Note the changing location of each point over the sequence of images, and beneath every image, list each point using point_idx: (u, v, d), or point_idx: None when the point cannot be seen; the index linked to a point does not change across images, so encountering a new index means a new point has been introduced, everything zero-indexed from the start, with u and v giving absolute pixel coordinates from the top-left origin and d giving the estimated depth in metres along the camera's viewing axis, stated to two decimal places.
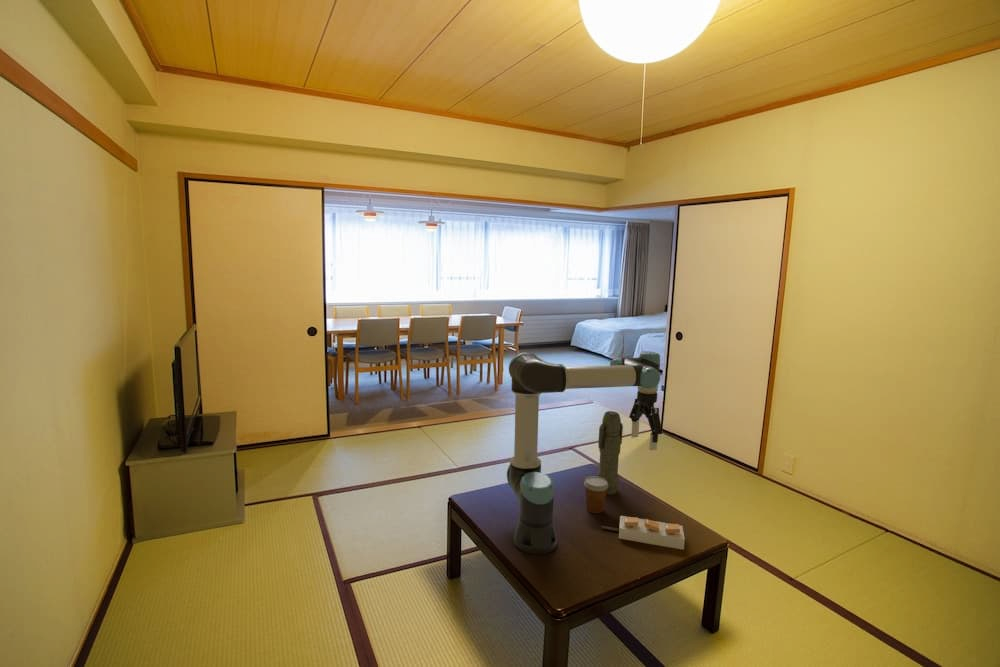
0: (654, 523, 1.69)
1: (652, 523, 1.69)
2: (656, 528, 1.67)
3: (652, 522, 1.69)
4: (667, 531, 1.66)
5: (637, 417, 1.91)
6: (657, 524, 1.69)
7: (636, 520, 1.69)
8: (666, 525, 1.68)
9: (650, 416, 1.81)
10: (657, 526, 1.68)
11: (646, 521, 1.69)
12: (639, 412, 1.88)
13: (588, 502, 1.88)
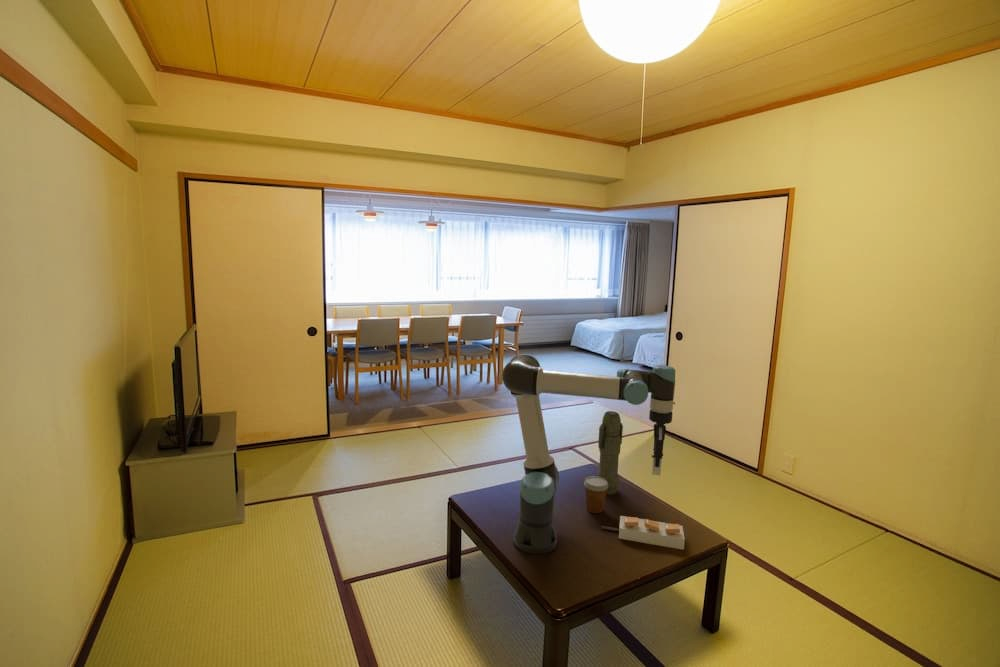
0: (654, 523, 1.69)
1: (652, 523, 1.69)
2: (656, 528, 1.67)
3: (652, 522, 1.69)
4: (667, 531, 1.66)
5: None
6: (657, 524, 1.69)
7: (636, 520, 1.69)
8: (666, 525, 1.68)
9: None
10: (657, 526, 1.68)
11: (646, 521, 1.69)
12: None
13: (588, 502, 1.88)
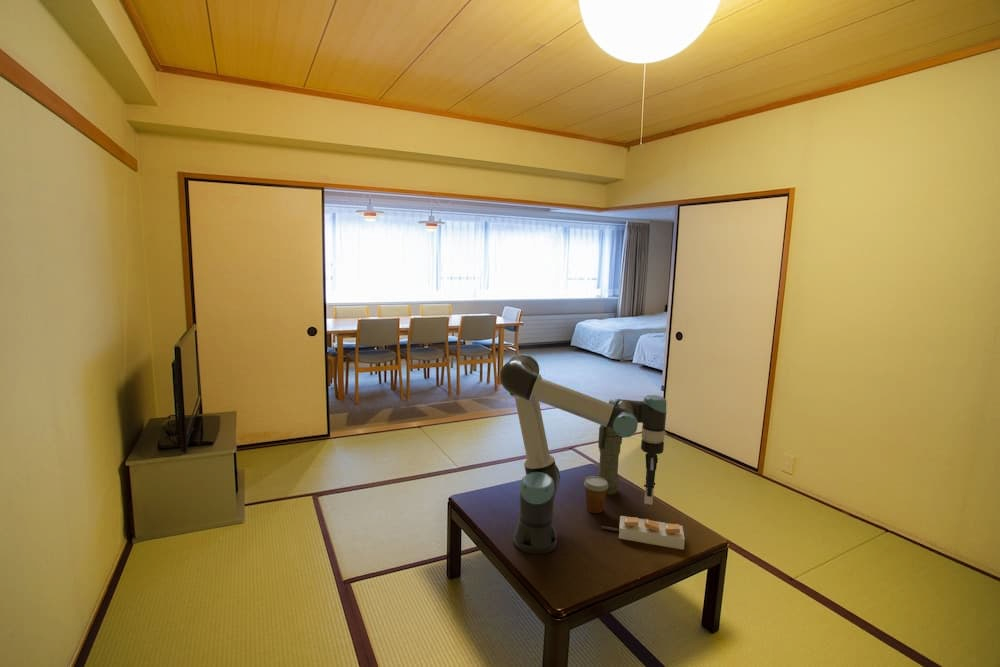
0: (654, 523, 1.69)
1: (652, 523, 1.69)
2: (656, 528, 1.67)
3: (652, 522, 1.69)
4: (667, 531, 1.66)
5: None
6: (657, 524, 1.69)
7: (636, 520, 1.69)
8: (666, 525, 1.68)
9: None
10: (657, 526, 1.68)
11: (646, 521, 1.69)
12: None
13: (588, 502, 1.88)
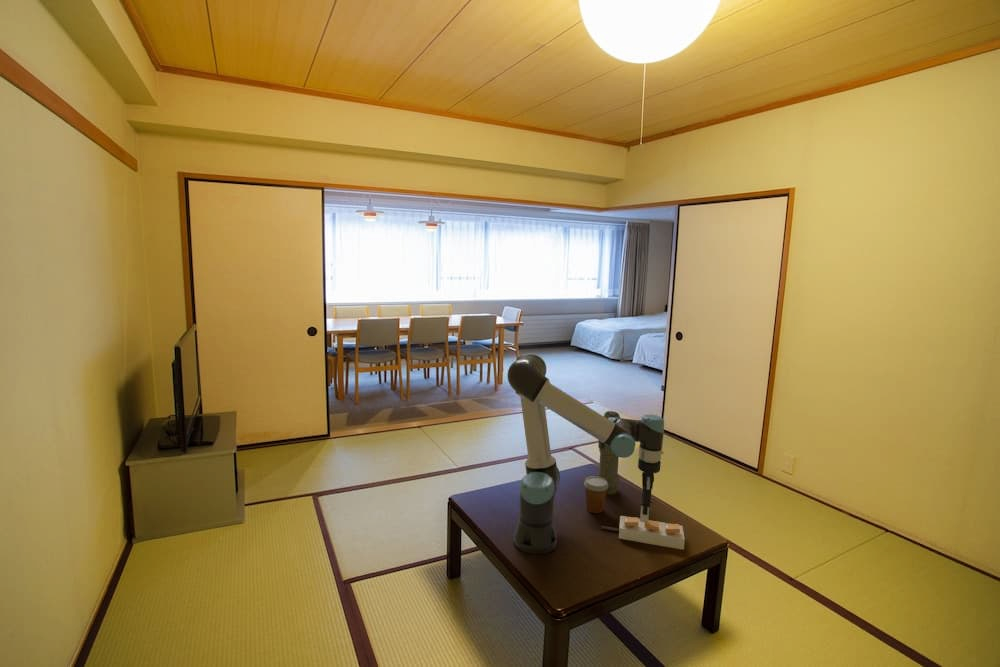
0: (654, 523, 1.69)
1: (652, 523, 1.69)
2: (656, 528, 1.67)
3: (652, 522, 1.69)
4: (667, 531, 1.66)
5: None
6: (657, 523, 1.69)
7: (636, 520, 1.69)
8: (666, 525, 1.68)
9: None
10: (657, 525, 1.67)
11: None
12: None
13: (588, 502, 1.88)
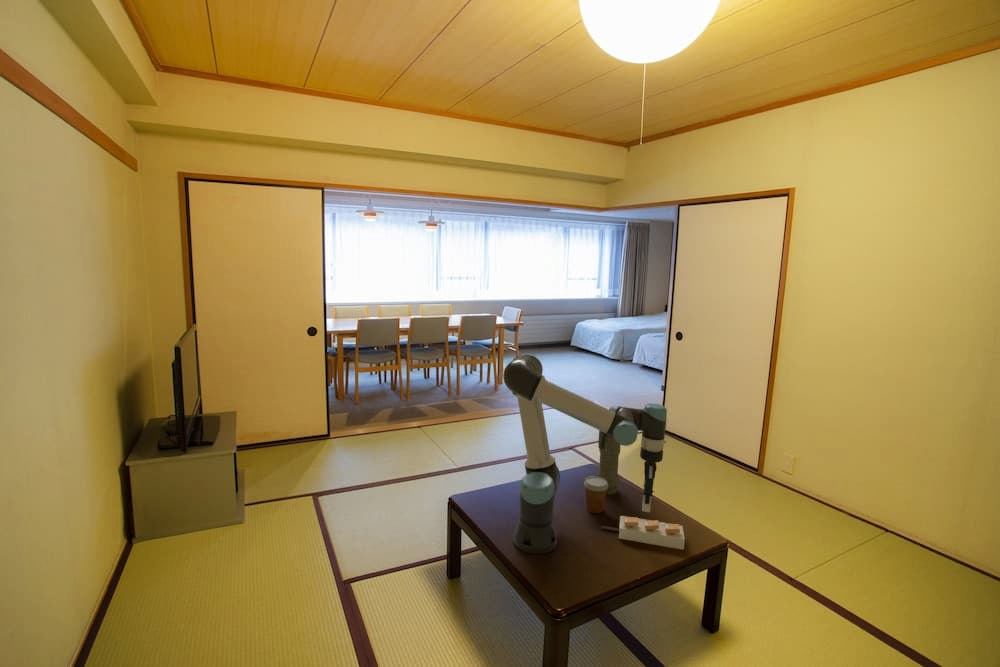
0: (653, 522, 1.69)
1: (651, 523, 1.69)
2: (656, 526, 1.67)
3: (651, 522, 1.69)
4: (667, 531, 1.66)
5: None
6: (656, 521, 1.69)
7: (636, 520, 1.69)
8: (666, 525, 1.68)
9: None
10: (656, 523, 1.67)
11: (645, 524, 1.69)
12: (646, 473, 1.68)
13: (588, 502, 1.88)
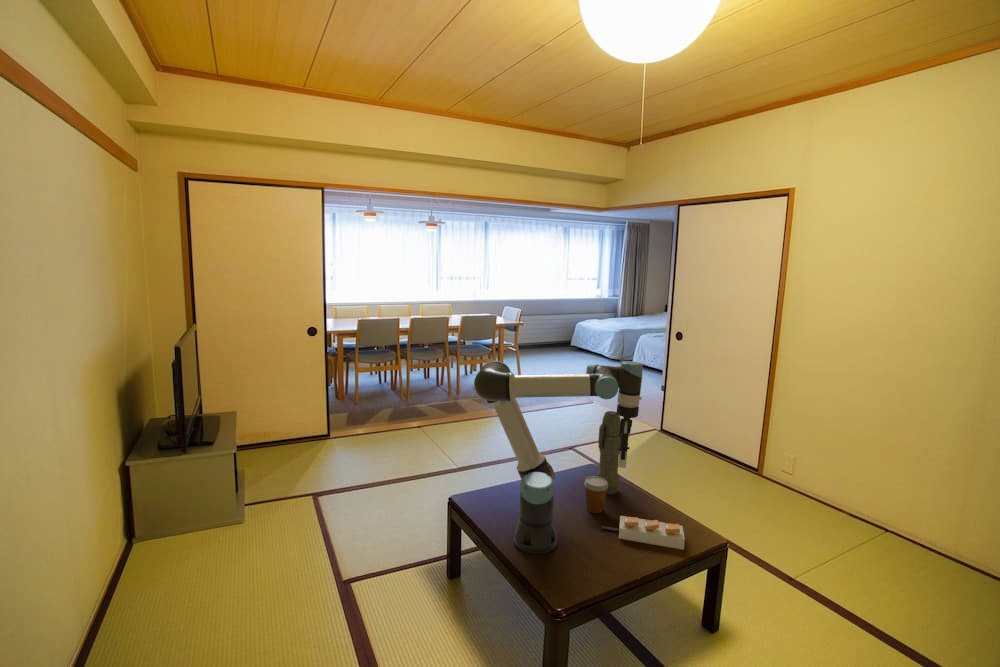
0: (653, 522, 1.69)
1: (651, 523, 1.69)
2: (656, 526, 1.67)
3: (651, 522, 1.69)
4: (667, 531, 1.66)
5: None
6: (656, 521, 1.69)
7: (636, 520, 1.69)
8: (666, 525, 1.68)
9: None
10: (656, 523, 1.67)
11: (645, 524, 1.69)
12: None
13: (588, 502, 1.88)
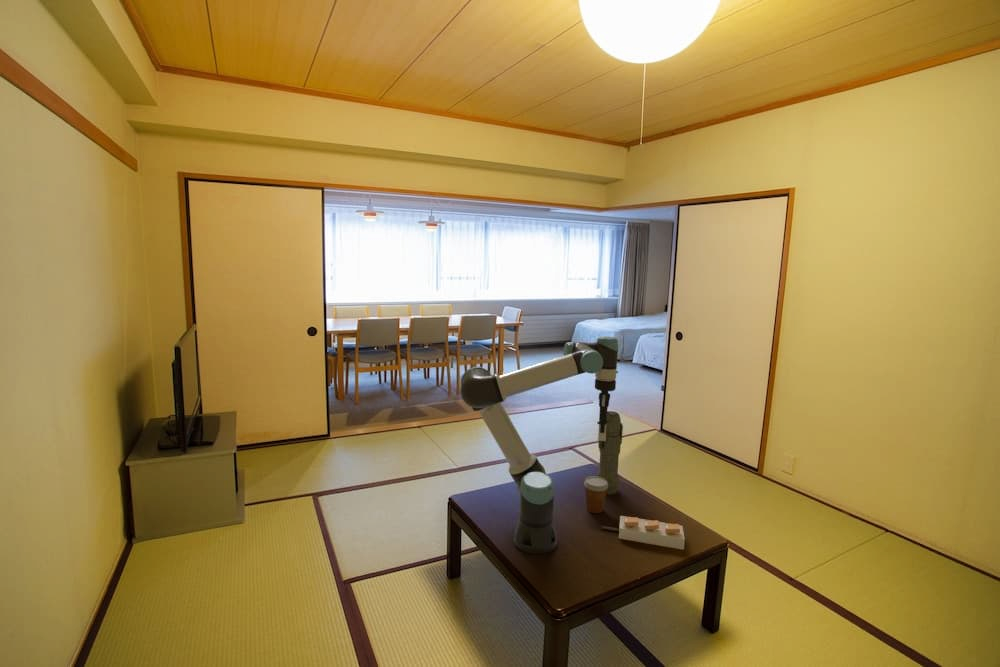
0: (654, 522, 1.69)
1: (651, 523, 1.69)
2: (656, 526, 1.67)
3: (651, 522, 1.69)
4: (667, 531, 1.66)
5: None
6: (656, 521, 1.69)
7: (636, 520, 1.69)
8: (666, 525, 1.68)
9: None
10: (656, 523, 1.67)
11: (645, 524, 1.69)
12: None
13: (588, 502, 1.88)
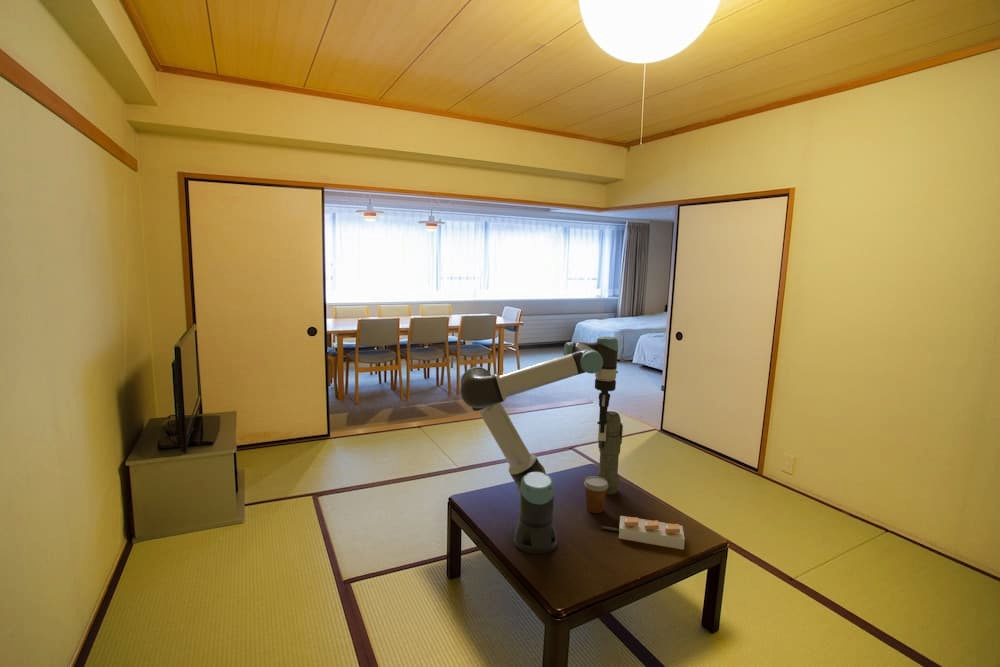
0: (654, 522, 1.69)
1: (652, 523, 1.69)
2: (656, 526, 1.67)
3: (651, 522, 1.69)
4: (667, 531, 1.66)
5: None
6: (656, 522, 1.69)
7: (636, 520, 1.69)
8: (666, 525, 1.68)
9: None
10: (656, 524, 1.67)
11: (645, 523, 1.69)
12: None
13: (588, 502, 1.88)
